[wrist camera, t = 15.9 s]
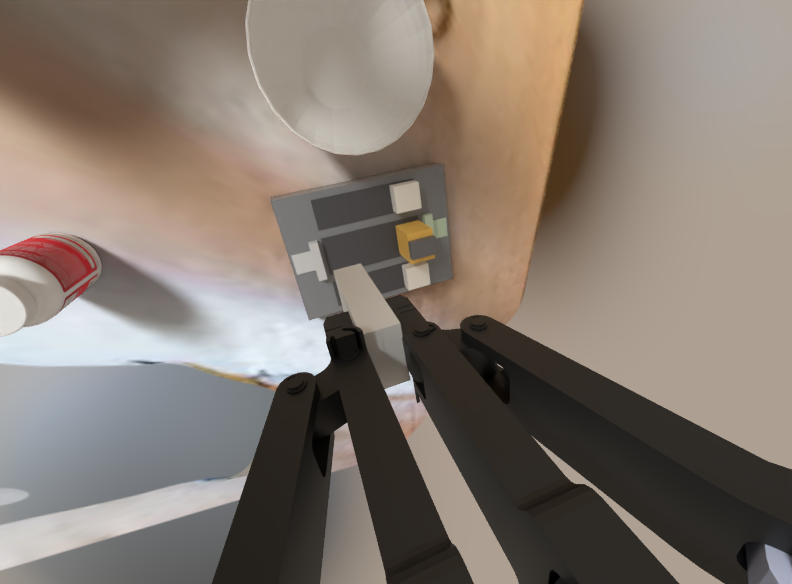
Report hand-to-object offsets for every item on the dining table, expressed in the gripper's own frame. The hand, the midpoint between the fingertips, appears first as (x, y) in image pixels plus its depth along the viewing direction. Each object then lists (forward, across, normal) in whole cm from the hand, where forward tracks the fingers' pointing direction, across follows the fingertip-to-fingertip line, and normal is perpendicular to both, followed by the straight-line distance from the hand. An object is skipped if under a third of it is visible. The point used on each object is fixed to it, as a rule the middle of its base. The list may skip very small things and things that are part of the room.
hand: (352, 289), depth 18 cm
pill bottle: (+25, -25, 0) cm, 35 cm away
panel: (+24, +6, -6) cm, 26 cm away
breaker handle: (+22, +10, -6) cm, 25 cm away
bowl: (+25, +6, +13) cm, 29 cm away
